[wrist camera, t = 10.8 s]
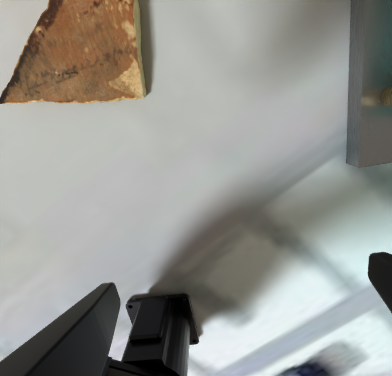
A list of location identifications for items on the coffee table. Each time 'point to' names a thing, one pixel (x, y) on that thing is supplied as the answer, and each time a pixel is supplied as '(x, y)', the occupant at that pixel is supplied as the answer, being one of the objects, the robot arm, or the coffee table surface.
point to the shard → (81, 55)
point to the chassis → (370, 84)
